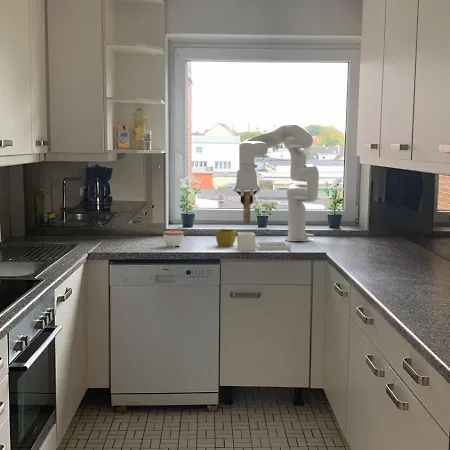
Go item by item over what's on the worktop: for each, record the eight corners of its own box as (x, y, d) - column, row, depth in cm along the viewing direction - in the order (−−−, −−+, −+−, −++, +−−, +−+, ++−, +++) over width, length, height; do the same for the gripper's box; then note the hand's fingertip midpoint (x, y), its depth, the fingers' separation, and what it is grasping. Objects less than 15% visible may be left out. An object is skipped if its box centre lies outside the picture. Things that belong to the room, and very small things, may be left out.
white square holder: (252, 249, 326) (252, 232, 325) (255, 252, 318) (255, 234, 317) (237, 249, 325) (237, 232, 324) (239, 252, 317) (239, 234, 316)
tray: (285, 247, 334) (285, 241, 334) (290, 251, 321) (290, 246, 320) (254, 247, 333) (254, 242, 332) (259, 252, 319) (259, 246, 319)
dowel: (249, 222, 322) (249, 191, 320) (250, 223, 319) (250, 191, 317) (243, 222, 322) (243, 191, 320) (243, 223, 319) (243, 191, 316)
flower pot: (231, 249, 327) (231, 231, 326) (215, 248, 330) (215, 231, 329) (236, 246, 335) (236, 229, 334) (220, 245, 338) (220, 229, 337)
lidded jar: (185, 245, 341) (185, 227, 339) (181, 248, 330) (181, 230, 329) (165, 244, 342) (165, 227, 341) (161, 247, 331) (161, 229, 330)
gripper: (262, 166, 321) (261, 203, 324) (229, 167, 320) (229, 203, 322) (264, 167, 314) (264, 204, 316) (231, 167, 312) (231, 205, 315)
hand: (246, 203), depth 319 cm, fingers closed on dowel, 3 cm apart
